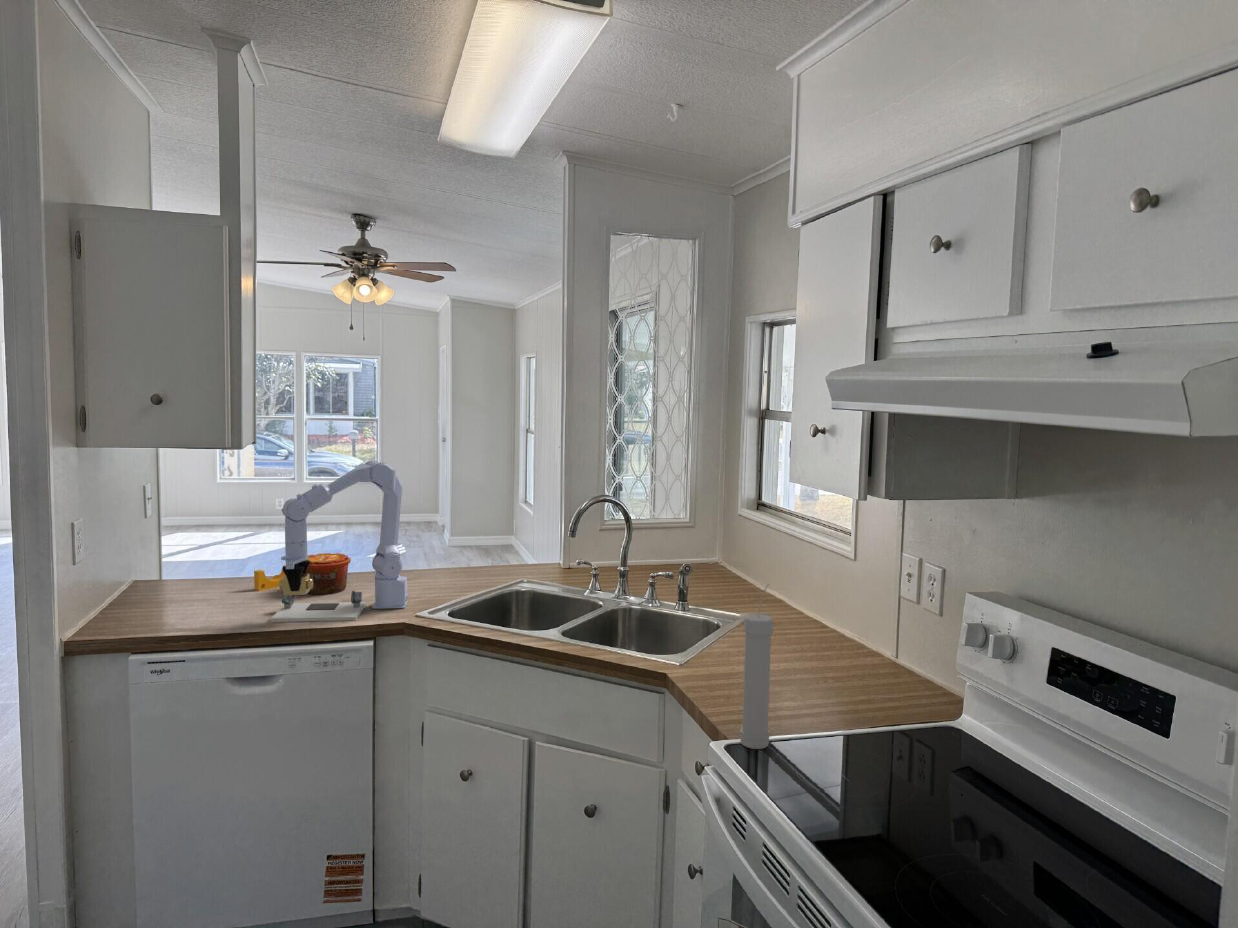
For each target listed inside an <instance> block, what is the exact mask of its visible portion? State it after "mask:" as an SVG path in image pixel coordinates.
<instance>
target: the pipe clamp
mask: <svg viewBox="0 0 1238 928" xmlns="http://www.w3.org/2000/svg"><path fill="white" fill-rule="evenodd" d="M284 566H286V564H284V565H282V567H284ZM284 576H286V575H285V573H284V572H283V570H282V569H281V572H280V574H275V575H274V576H273V577H270V578H268V577H266V574H265V570H262V569H257V570H253V579H254V580H253V581H254V582H253V583H254V584H253V585H254V589H253V590H254V591H257V592H261V591H265V590H270V589H271V590H272V589H277V588H280V586H279V584H280V580H281V579H283V577H284Z"/></svg>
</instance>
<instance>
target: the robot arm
mask: <svg viewBox="0 0 1238 928" xmlns="http://www.w3.org/2000/svg"><path fill="white" fill-rule="evenodd" d="M357 483H373V484H374V485H376V486H377V487H378V489H380V490H381V492H383V499H382V512H381V523H380V535H379V544H378V546H377V547H376V550H375V551H376V552H375V555H374V557H373V558H372V562H371V564H372V568H373V570H374V571H376V572H375V574H374V603H373V604H372V606H371V609H372V610H374V609H375V610H376V609H377V610H378V609H380V610H381V609H382V610H383V609H405V608H406V607H407V606H406V605H407V604H408V601H409V600H408V598H409V597H408V596H409V595H408V578H407V576H401V573H402V571H403V563H402V561H401V560H402V559H401V552H400V549H399V546H398V545H399V544H398V543H399V531H400V521H401V520H400V519H401V508H402V497H403V487H402V484H401V483H400V480H399V478H398V475H396V470H395V469H394V468H393V467H392V466H390V465H389V463H386V462H380V461H377V460H375V459H374V460H373V459H372V460H368V461H367V462H365V463H362V464H360V465H357V466H356V467H355V468H353V469H351V470H349V471H348V472H346V473H345V474H343V475H342V476H340V477H339V478H337V479H335V480H334V481H331V482H330V483H328V484H327V485H326V484H322V483H320V484H318V485H317V484H313V485H311V489H309V490H307V491H305V492H304V493H302V494H301V493H298V494H296V498H295V497H294V498H289V499H287V500H286V501H285V502H284V504H283V506H282V508H281V513H282V515H284V517H285V518H284V524H285V525H284V542H285V543H284V544H285V545H284V548H285V551H284V552H285V555H284V556H281V558H280V559H281V561H285V565H286V566H284V567H283V566H282V567H281V571H282V570H283V572H284V573H285V575H286V577H287V580H288V583H289V587H290V590H291V591H299V588H300V582H301V576H302V574H306V573H307V569H308V567H309V565H310V563H311V561H310V560H307V559H308V531H307V530H308V528H307V527H308V526H307V518H308V516H309V513H313V512H314V511H316V510H318V509H320V508H322V507H323V506H325V505H327V504H328V503H330V502H331V501H332V499H333V498H334V497H333V496H334V495H336V494H337V493H340V492H343V491H344V490H345V489H348V488H349V487H352V486H353V485H356V484H357Z"/></svg>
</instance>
